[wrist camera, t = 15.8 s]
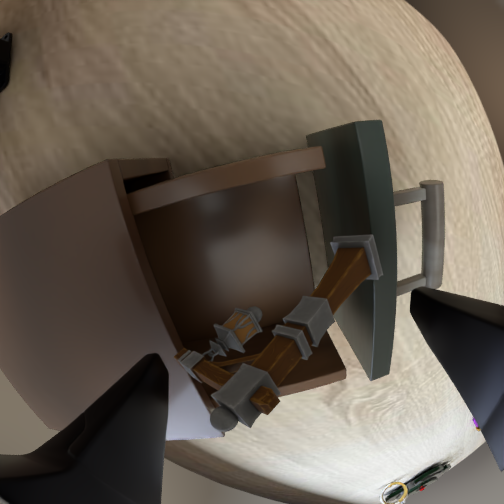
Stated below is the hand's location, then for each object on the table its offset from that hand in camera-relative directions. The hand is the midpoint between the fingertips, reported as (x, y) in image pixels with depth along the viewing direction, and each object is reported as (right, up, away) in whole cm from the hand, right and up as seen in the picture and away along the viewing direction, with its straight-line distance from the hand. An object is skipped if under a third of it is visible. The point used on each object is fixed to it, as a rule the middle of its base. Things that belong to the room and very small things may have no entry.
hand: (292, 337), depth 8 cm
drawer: (+1, +3, +8) cm, 9 cm away
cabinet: (-11, +1, +9) cm, 15 cm away
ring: (+31, -52, +31) cm, 68 cm away
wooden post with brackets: (0, +1, +2) cm, 2 cm away
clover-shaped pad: (+46, -62, +35) cm, 85 cm away
